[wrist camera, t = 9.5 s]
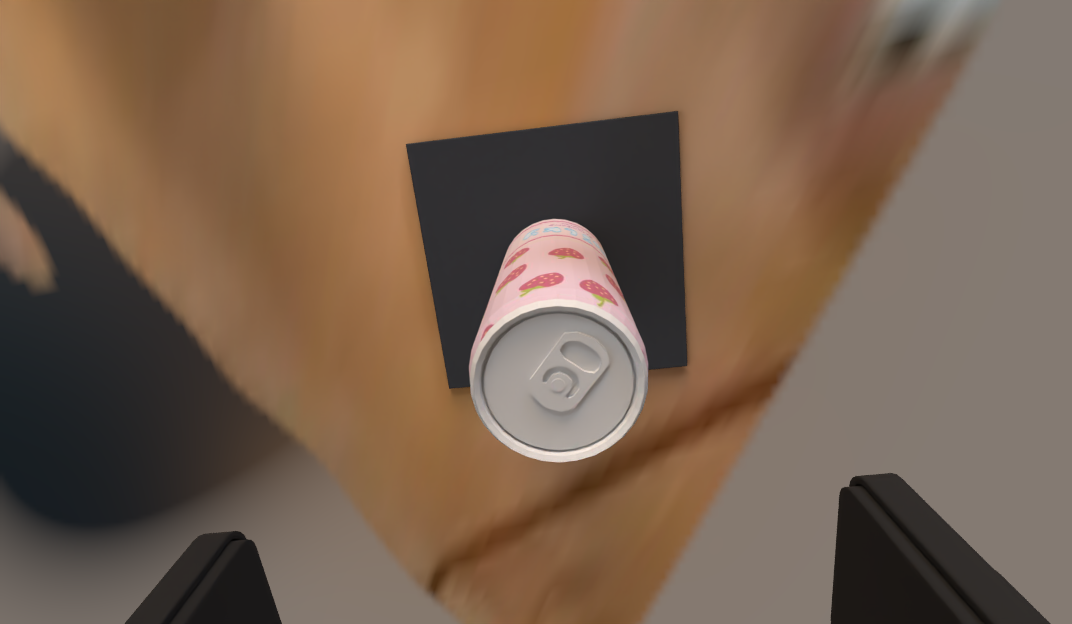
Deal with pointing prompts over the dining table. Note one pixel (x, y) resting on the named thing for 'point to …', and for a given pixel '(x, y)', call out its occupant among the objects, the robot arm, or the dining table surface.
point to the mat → (555, 193)
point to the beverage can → (557, 349)
